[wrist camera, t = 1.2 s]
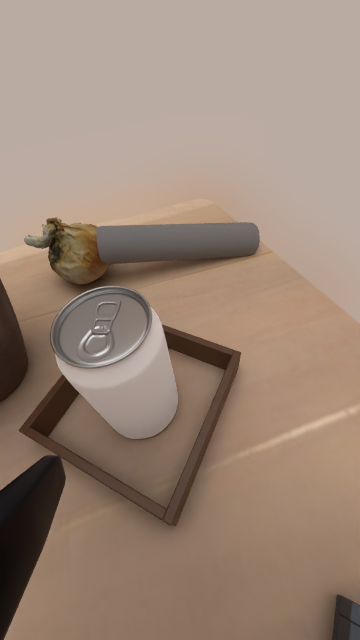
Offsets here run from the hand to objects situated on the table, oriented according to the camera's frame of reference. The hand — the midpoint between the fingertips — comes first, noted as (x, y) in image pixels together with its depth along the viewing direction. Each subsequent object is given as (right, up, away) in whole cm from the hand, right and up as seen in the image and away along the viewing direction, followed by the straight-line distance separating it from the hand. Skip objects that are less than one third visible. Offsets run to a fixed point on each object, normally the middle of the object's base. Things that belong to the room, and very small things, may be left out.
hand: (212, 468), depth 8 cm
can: (-4, -3, +17) cm, 18 cm away
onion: (-13, +10, +28) cm, 32 cm away
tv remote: (-1, +14, +26) cm, 29 cm away
